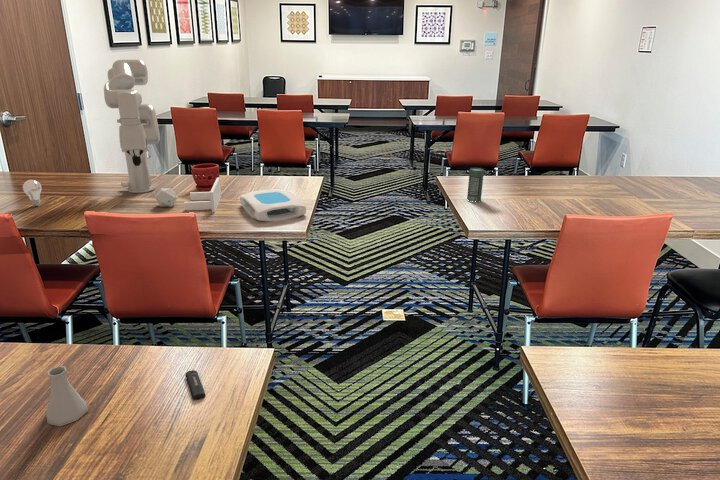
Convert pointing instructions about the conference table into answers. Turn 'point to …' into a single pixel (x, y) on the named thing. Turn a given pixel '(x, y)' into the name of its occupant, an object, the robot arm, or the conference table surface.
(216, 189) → the two-post plank stand
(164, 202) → the die
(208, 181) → the plant pot
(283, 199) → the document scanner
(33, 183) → the light bulb
